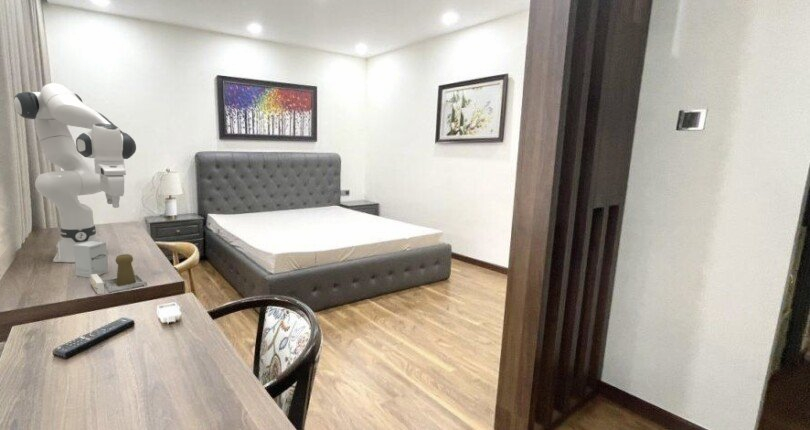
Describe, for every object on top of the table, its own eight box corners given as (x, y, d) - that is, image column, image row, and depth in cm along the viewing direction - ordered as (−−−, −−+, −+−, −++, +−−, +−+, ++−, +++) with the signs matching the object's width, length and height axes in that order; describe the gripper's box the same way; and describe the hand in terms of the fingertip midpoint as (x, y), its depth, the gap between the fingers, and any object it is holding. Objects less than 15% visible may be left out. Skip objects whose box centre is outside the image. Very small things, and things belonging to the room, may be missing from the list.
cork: (113, 286, 144) (111, 257, 142) (119, 281, 149) (117, 253, 148) (132, 285, 146) (130, 256, 144) (138, 280, 151) (136, 252, 149)
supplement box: (91, 278, 153) (88, 246, 150) (76, 276, 154) (72, 244, 152) (109, 272, 160) (106, 242, 157) (94, 270, 161) (91, 240, 159)
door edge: (90, 285, 145) (88, 274, 145) (97, 283, 147) (96, 273, 146) (96, 294, 137) (95, 283, 136) (104, 293, 139) (103, 282, 138)
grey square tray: (102, 284, 147) (102, 279, 147) (139, 277, 155) (138, 273, 155) (109, 292, 139) (109, 288, 139) (147, 285, 147) (146, 281, 147)
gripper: (94, 166, 151) (97, 202, 153) (105, 171, 137) (108, 210, 139) (114, 166, 155) (117, 201, 158) (126, 170, 141) (129, 208, 144)
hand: (113, 205), depth 148 cm, fingers open, 8 cm apart
